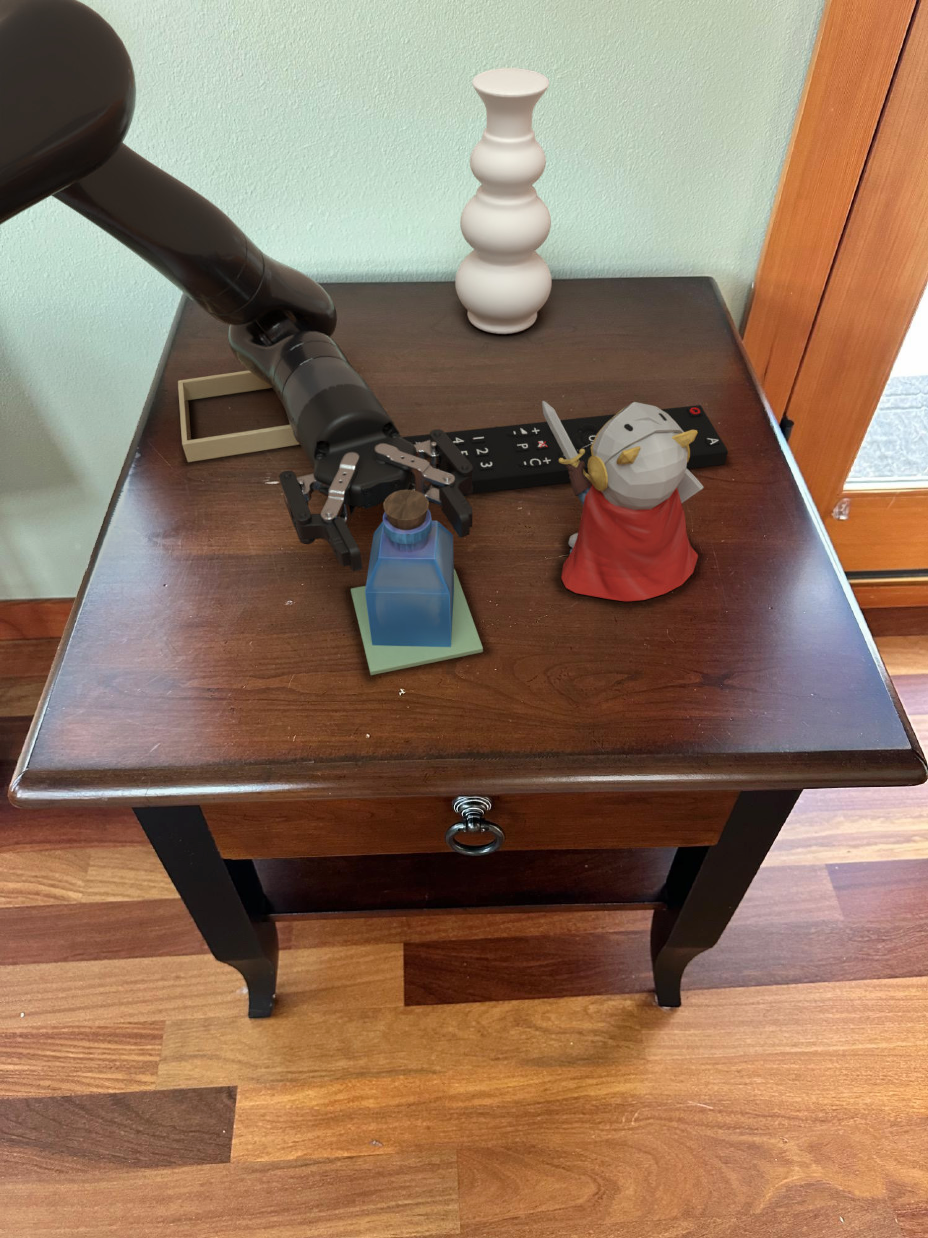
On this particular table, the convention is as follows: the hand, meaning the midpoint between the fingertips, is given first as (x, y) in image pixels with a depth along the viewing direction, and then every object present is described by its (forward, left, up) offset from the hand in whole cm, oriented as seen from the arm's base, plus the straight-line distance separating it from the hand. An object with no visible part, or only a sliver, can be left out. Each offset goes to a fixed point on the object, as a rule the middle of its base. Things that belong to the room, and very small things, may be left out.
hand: (412, 544), depth 60 cm
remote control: (+18, +18, -10) cm, 27 cm away
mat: (0, +1, -9) cm, 9 cm away
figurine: (+19, +4, -10) cm, 22 cm away
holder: (-12, +32, -9) cm, 35 cm away
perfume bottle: (0, +1, -9) cm, 9 cm away
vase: (+20, +44, -10) cm, 49 cm away
